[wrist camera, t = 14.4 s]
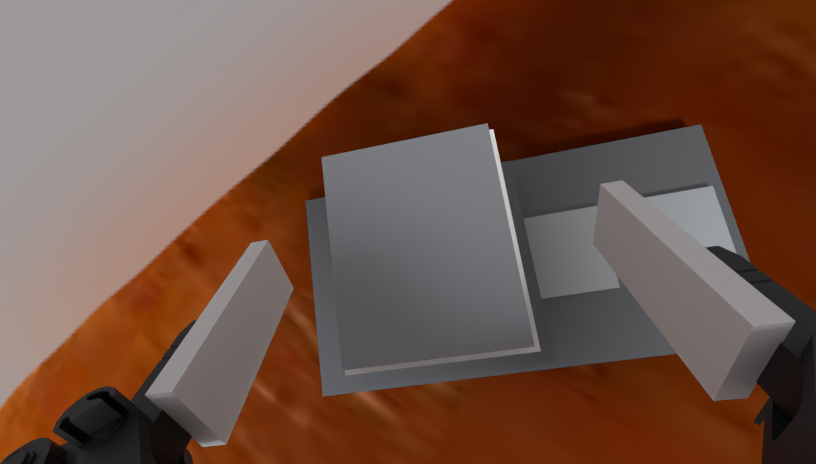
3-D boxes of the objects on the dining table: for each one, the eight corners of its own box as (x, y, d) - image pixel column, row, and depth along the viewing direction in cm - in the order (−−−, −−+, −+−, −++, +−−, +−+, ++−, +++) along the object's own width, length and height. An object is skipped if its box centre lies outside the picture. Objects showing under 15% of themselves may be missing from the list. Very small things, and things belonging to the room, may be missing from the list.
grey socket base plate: (689, 132, 20) (728, 105, 17) (760, 338, 18) (820, 347, 15) (311, 204, 23) (290, 191, 20) (329, 391, 20) (307, 407, 18)
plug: (474, 217, 20) (497, 110, 8) (494, 319, 19) (552, 359, 7) (393, 230, 21) (309, 149, 9) (407, 330, 19) (331, 385, 8)
